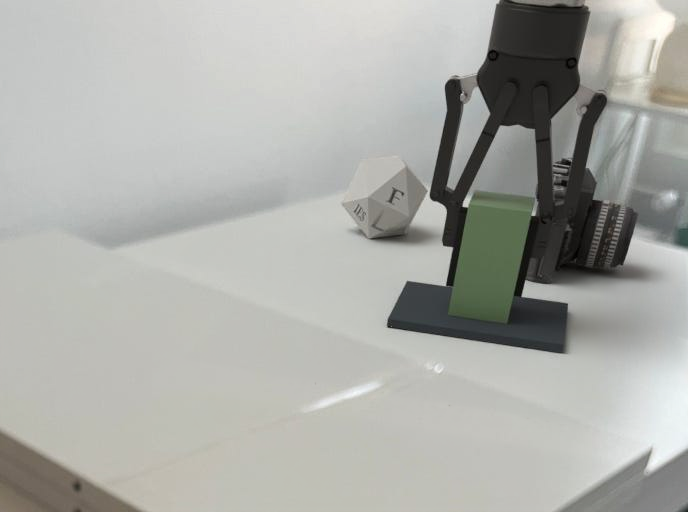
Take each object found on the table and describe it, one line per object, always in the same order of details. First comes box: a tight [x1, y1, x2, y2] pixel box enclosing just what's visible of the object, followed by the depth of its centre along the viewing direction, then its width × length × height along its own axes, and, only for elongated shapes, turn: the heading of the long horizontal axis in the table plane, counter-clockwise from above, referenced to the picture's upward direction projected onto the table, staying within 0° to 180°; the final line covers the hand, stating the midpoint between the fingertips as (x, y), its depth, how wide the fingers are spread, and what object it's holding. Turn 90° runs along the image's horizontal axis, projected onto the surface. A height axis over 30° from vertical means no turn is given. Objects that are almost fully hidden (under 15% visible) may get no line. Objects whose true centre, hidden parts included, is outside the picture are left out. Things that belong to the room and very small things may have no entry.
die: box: [340, 155, 429, 240], centre depth 119 cm, size 8×9×10 cm
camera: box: [526, 157, 639, 284], centre depth 111 cm, size 14×11×10 cm
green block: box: [448, 189, 536, 324], centre depth 96 cm, size 6×6×10 cm
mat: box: [386, 280, 569, 354], centre depth 99 cm, size 16×12×1 cm
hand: (484, 286), depth 97 cm, fingers closed on green block, 6 cm apart
